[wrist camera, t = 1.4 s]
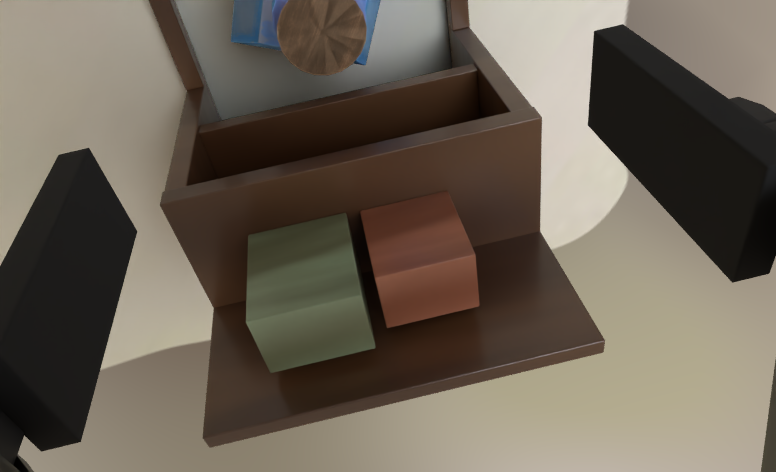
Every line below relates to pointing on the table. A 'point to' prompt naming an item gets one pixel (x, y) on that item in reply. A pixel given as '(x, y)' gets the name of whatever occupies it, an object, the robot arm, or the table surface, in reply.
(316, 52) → the perfume bottle
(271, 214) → the desk rack
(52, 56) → the table surface
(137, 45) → the table surface
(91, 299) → the robot arm
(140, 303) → the table surface
